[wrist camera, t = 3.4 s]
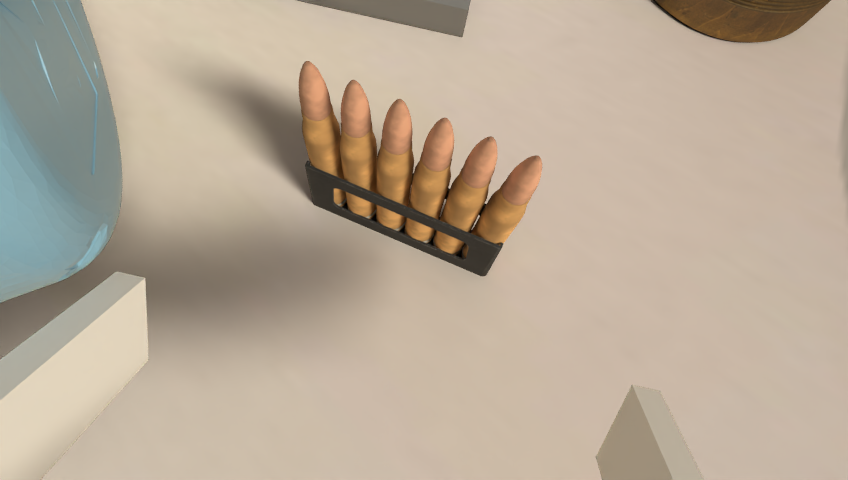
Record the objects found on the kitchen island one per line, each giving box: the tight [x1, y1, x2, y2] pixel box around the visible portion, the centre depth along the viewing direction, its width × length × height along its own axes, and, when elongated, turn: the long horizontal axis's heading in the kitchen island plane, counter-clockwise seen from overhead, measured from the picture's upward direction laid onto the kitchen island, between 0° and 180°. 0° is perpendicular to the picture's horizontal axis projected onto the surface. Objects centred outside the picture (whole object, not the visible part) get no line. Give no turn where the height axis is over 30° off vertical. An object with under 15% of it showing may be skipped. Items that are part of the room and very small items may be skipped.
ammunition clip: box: [299, 61, 542, 276], centre depth 23 cm, size 11×2×12 cm, turn 67°
